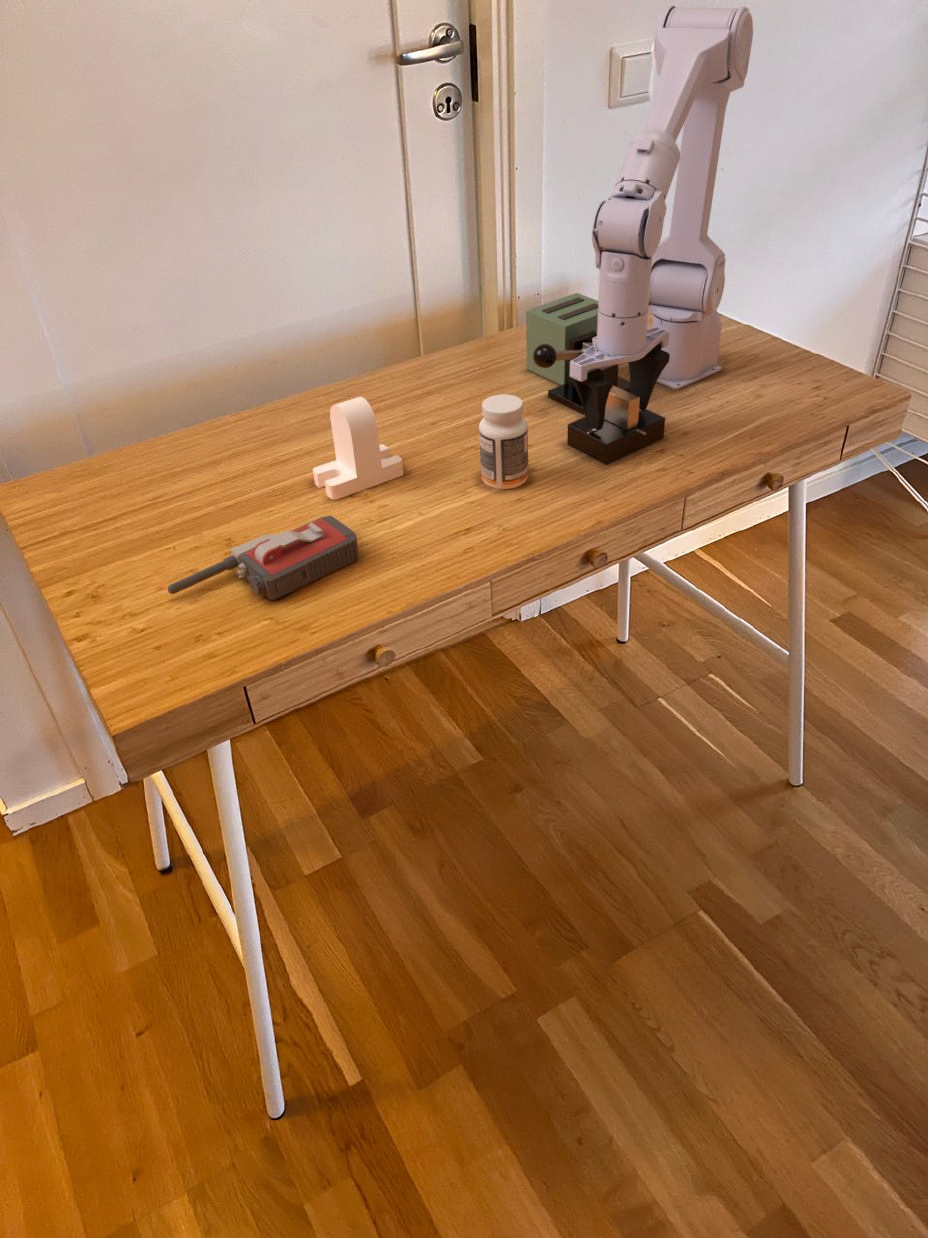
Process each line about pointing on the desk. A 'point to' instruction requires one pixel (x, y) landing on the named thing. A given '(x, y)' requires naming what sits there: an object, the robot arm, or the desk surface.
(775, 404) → the desk surface
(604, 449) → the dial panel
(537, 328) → the toaster
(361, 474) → the white phone stand
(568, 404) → the lever bracket
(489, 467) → the pill bottle
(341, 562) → the walkie-talkie
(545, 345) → the lever
